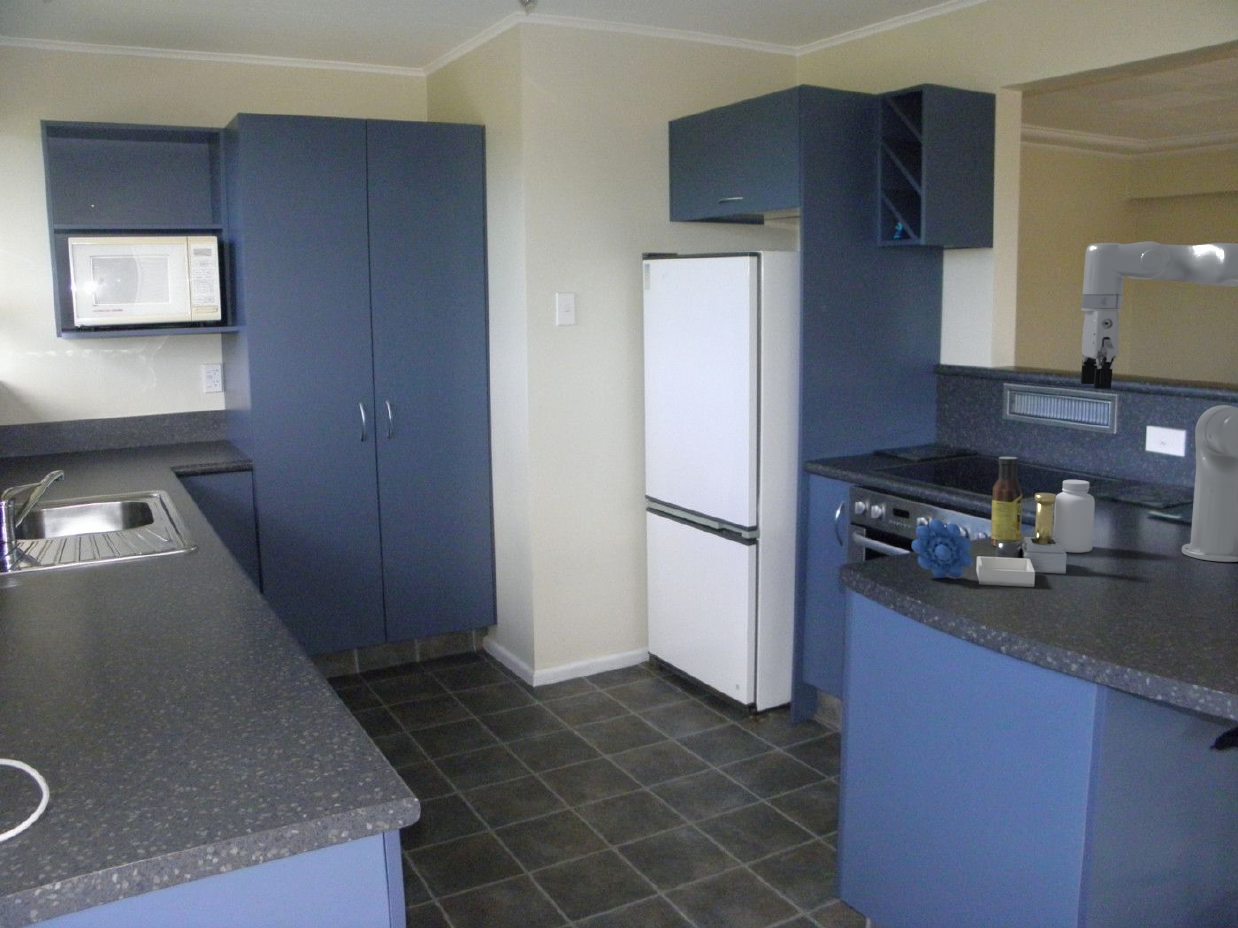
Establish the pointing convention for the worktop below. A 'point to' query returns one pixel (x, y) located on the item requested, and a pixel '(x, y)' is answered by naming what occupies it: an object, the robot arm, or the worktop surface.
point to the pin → (1044, 517)
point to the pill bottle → (1074, 517)
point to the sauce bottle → (1006, 502)
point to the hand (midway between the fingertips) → (1095, 386)
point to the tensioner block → (1035, 553)
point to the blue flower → (942, 549)
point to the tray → (1005, 571)
